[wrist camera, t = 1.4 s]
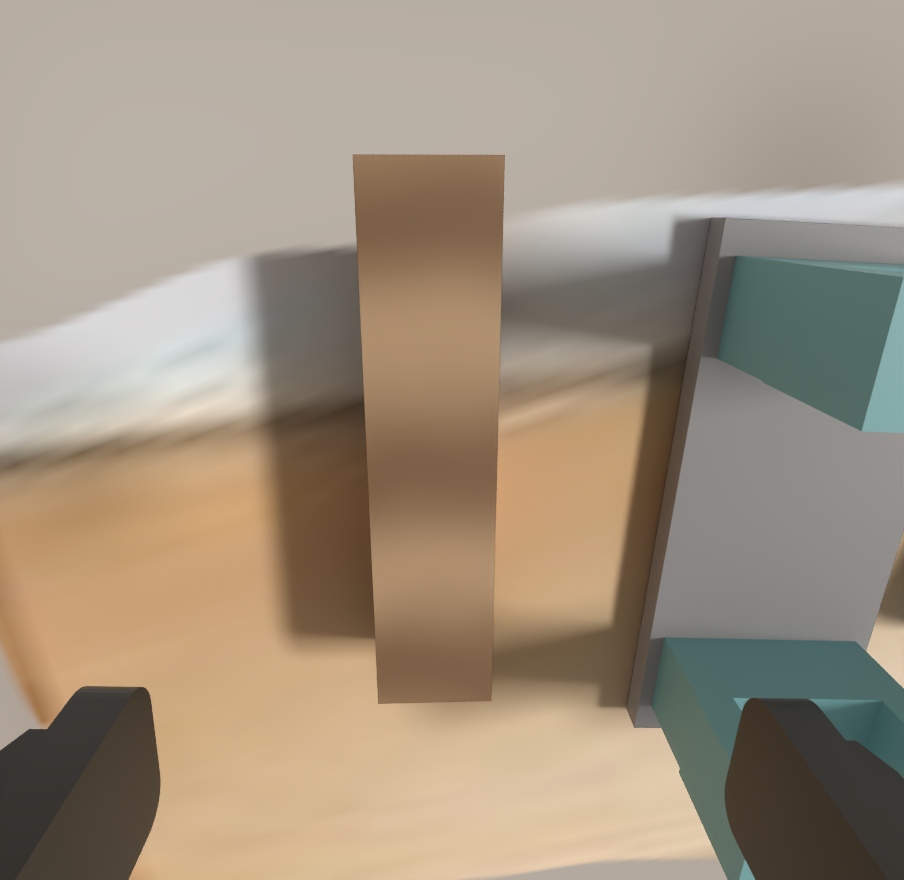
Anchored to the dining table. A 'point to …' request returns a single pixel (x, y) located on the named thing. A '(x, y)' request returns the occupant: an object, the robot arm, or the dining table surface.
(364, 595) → the dining table surface
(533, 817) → the dining table surface
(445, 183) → the rail
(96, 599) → the dining table surface
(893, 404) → the bracket stand
